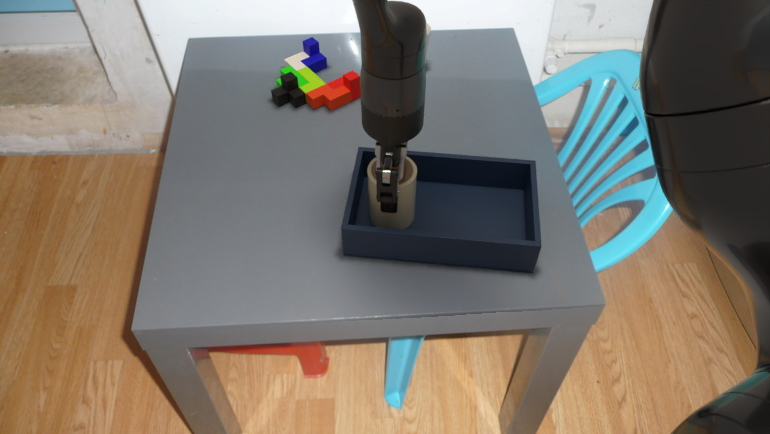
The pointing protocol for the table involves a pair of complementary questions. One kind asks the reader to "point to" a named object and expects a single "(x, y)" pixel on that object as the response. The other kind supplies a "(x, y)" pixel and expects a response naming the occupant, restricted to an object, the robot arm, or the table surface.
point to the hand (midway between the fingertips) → (392, 190)
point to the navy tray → (453, 213)
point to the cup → (405, 197)
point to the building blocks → (313, 81)
